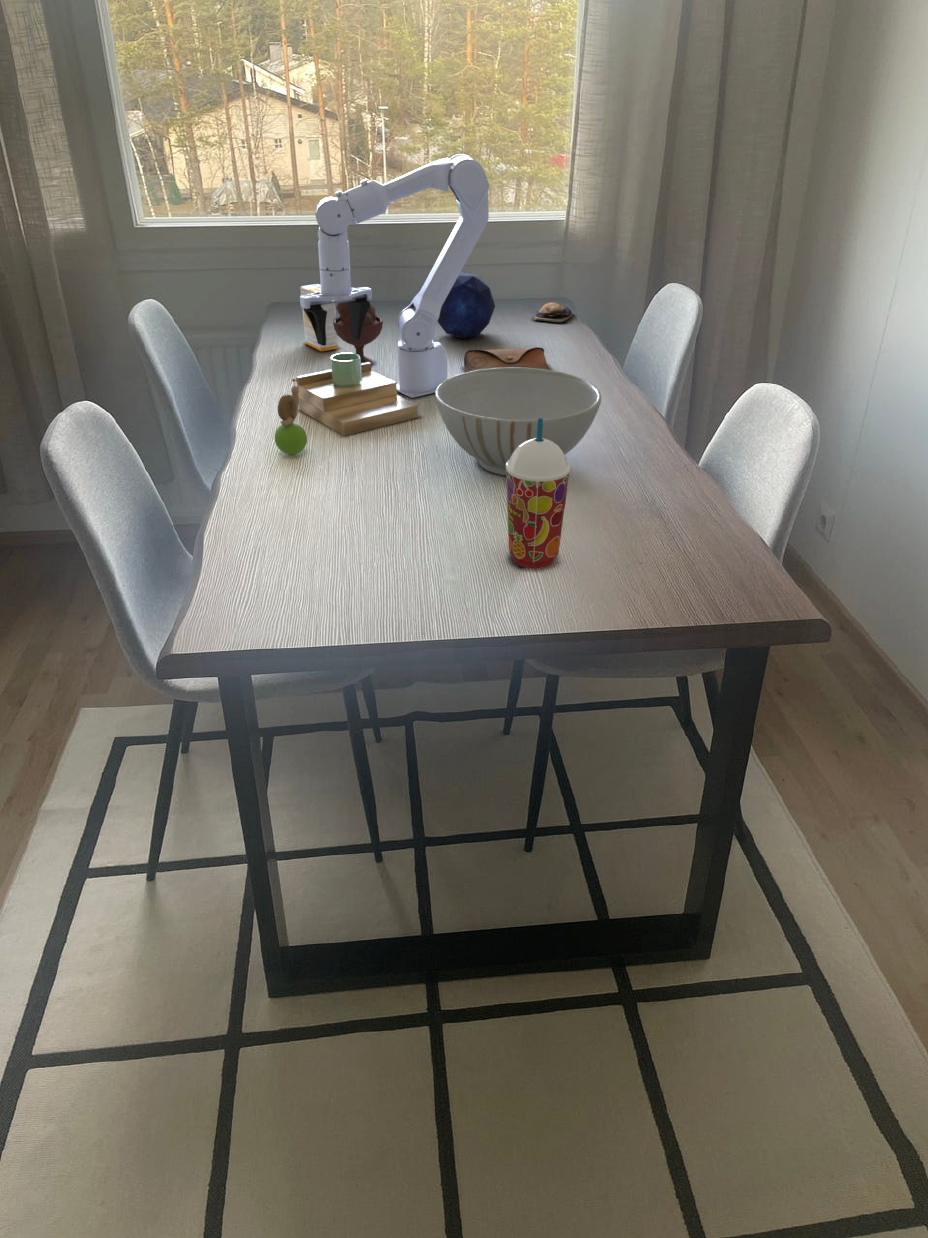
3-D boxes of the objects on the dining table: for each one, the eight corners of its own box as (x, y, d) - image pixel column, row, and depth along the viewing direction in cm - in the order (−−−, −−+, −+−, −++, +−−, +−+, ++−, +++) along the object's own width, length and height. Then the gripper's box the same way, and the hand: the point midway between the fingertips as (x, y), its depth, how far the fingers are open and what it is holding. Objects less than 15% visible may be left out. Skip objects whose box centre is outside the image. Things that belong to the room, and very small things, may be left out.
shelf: (418, 417, 173) (417, 383, 170) (344, 435, 165) (342, 400, 162) (370, 393, 185) (368, 361, 181) (299, 409, 177) (296, 376, 173)
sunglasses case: (470, 376, 193) (467, 344, 193) (465, 384, 200) (462, 353, 200) (553, 372, 196) (551, 340, 195) (545, 380, 203) (543, 349, 202)
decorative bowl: (483, 507, 140) (484, 432, 134) (410, 448, 160) (408, 380, 154) (627, 475, 151) (635, 404, 144) (541, 424, 171) (545, 359, 164)
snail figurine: (316, 447, 160) (310, 379, 154) (299, 461, 155) (292, 391, 149) (288, 443, 162) (281, 376, 156) (270, 456, 157) (262, 387, 150)
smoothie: (499, 546, 129) (503, 408, 119) (558, 544, 130) (567, 406, 119) (506, 575, 122) (511, 431, 112) (568, 573, 123) (579, 430, 112)
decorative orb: (516, 311, 220) (484, 254, 217) (483, 325, 209) (450, 265, 207) (475, 341, 229) (444, 286, 227) (442, 355, 219) (409, 298, 216)
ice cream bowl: (378, 372, 197) (374, 300, 189) (328, 369, 199) (322, 297, 191) (391, 358, 205) (388, 288, 197) (343, 355, 207) (338, 286, 199)
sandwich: (562, 324, 231) (563, 309, 229) (530, 320, 234) (531, 305, 232) (575, 314, 239) (576, 299, 237) (544, 311, 242) (545, 296, 240)
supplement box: (339, 348, 212) (335, 289, 205) (320, 352, 209) (315, 292, 202) (323, 340, 217) (318, 282, 211) (304, 343, 215) (299, 285, 208)
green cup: (352, 376, 178) (350, 350, 175) (367, 384, 174) (365, 357, 172) (327, 382, 175) (325, 355, 173) (341, 389, 172) (340, 362, 169)
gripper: (311, 276, 166) (316, 351, 173) (379, 267, 173) (381, 340, 181) (292, 269, 171) (298, 343, 178) (359, 260, 178) (362, 332, 185)
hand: (339, 341), depth 180 cm, fingers open, 7 cm apart
